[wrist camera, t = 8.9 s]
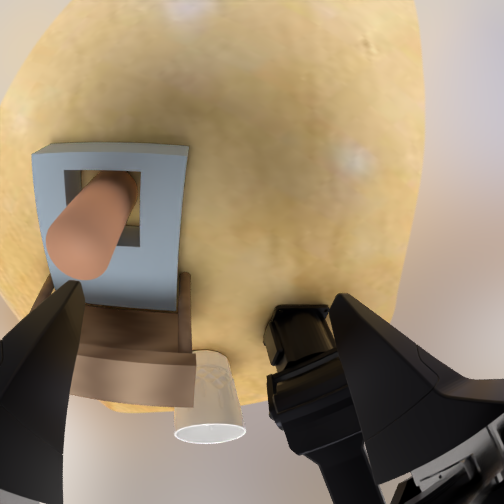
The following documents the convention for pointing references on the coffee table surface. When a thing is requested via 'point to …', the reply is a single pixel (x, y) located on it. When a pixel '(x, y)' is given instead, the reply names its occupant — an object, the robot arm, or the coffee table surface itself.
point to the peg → (92, 225)
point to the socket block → (132, 237)
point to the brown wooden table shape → (135, 353)
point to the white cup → (211, 404)
